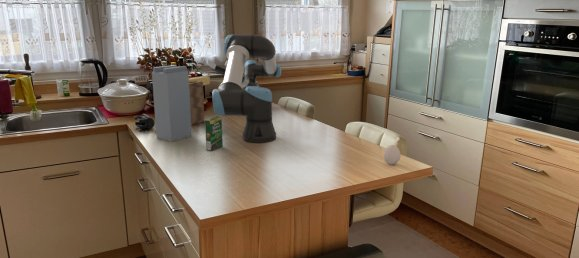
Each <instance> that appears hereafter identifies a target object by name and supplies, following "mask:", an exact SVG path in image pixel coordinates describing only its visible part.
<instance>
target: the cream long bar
mask: <svg viewBox="0 0 579 258" xmlns="http://www.w3.org/2000/svg"><path fill="white" fill-rule="evenodd" d="M210 78H211V77H210V76H207V75H202V76H195V77H189V83H194V82H203V86H206V85H210V84H211V80H210Z"/></svg>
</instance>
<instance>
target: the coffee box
mask: <svg viewBox="0 0 579 258" xmlns="http://www.w3.org/2000/svg"><path fill="white" fill-rule="evenodd" d="M222 121H223V120H222V116H219V115H216V116H214V117H211V118H208V119H206V120H205V119H204V125H205V126H204V127H205V129H204V130H205V148H206V151H208V152H212V151H215V150H217V149H220V148H223V145H224V144H223V141H224V140H223V125H222V124H223V123H222Z"/></svg>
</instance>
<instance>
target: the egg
mask: <svg viewBox="0 0 579 258" xmlns="http://www.w3.org/2000/svg"><path fill="white" fill-rule="evenodd" d="M383 160H384V161H385V163H387V164H388V165H392V166H394V165H396V164H397V163H398V162H399V161H400V160H401V151H400V149H399V148H398V146H397V145H395V144H390V145H388V146H387V147H386V148H385V150H384V151H383Z"/></svg>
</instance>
